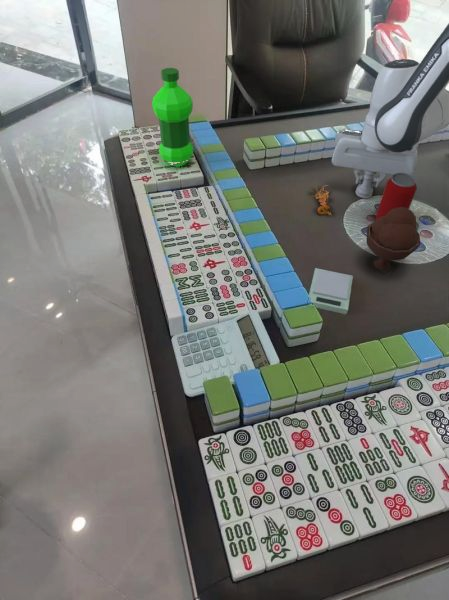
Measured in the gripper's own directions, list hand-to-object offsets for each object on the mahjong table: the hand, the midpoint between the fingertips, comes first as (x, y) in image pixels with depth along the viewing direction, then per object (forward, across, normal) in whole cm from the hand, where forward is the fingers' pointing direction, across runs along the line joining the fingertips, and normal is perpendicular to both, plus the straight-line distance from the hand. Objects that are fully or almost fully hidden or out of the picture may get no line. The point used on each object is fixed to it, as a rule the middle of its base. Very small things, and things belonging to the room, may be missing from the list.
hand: (366, 184), depth 113 cm
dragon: (+3, -10, -8) cm, 13 cm away
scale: (+3, -4, -40) cm, 40 cm away
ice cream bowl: (+3, +6, -28) cm, 29 cm away
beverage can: (+3, +7, -10) cm, 13 cm away
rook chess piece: (+3, 0, 0) cm, 3 cm away
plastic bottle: (+3, -53, 0) cm, 53 cm away
